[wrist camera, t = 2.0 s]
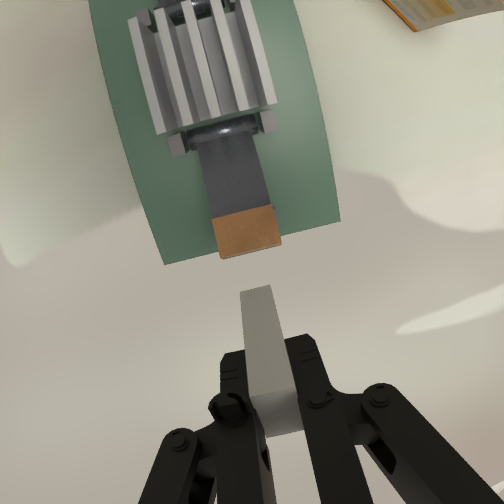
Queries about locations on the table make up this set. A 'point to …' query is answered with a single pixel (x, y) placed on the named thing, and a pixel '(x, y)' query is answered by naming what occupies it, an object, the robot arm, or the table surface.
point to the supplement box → (441, 11)
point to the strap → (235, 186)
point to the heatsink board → (214, 110)
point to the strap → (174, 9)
